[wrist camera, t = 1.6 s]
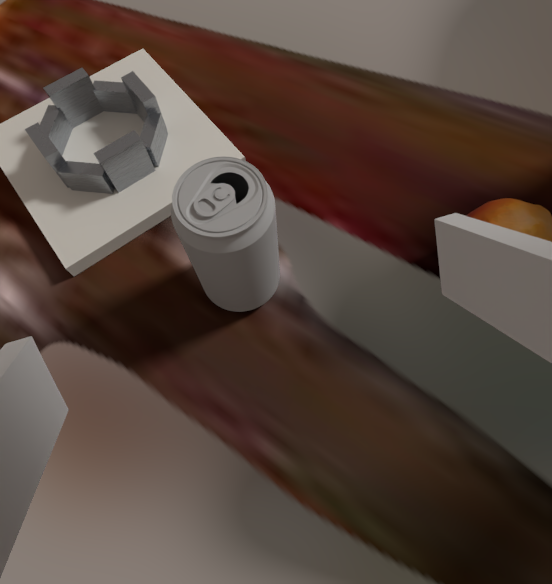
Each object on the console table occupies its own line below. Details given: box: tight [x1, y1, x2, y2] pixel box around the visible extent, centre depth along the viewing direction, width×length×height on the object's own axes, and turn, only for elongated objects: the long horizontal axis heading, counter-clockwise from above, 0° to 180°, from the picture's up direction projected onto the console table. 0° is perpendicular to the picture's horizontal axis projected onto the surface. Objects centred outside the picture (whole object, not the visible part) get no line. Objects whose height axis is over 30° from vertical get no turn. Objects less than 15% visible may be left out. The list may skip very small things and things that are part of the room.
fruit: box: [466, 198, 552, 242], centre depth 34 cm, size 8×8×8 cm
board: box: [0, 49, 245, 276], centre depth 42 cm, size 18×18×2 cm
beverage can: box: [171, 156, 280, 312], centre depth 31 cm, size 6×6×12 cm
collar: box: [25, 68, 168, 194], centre depth 39 cm, size 10×10×4 cm
